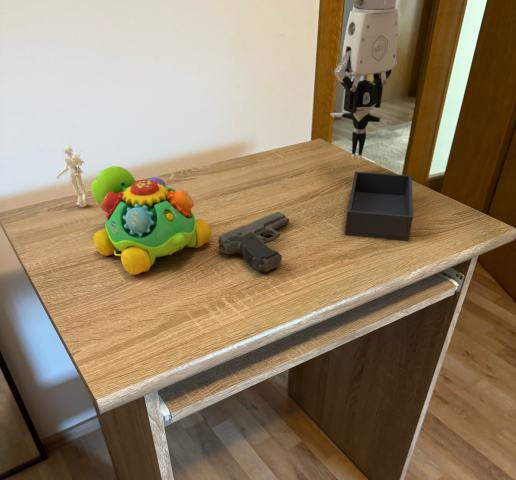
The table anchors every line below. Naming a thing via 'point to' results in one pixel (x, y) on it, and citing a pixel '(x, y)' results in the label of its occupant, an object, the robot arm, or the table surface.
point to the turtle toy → (144, 219)
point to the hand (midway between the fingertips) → (361, 108)
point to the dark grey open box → (380, 206)
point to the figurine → (75, 174)
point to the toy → (363, 114)
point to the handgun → (255, 242)
